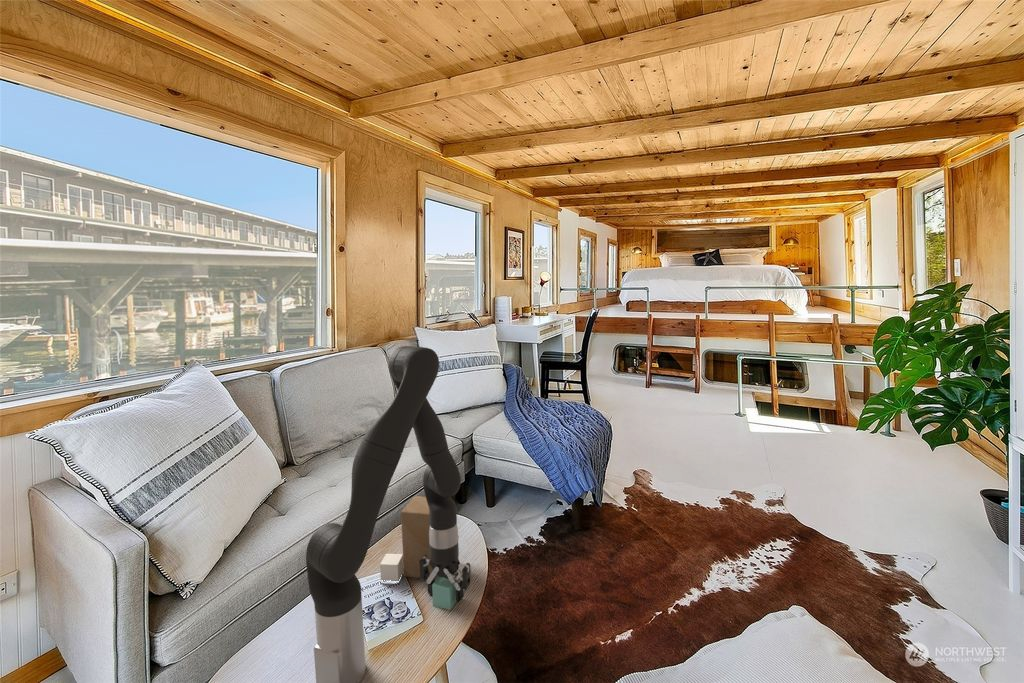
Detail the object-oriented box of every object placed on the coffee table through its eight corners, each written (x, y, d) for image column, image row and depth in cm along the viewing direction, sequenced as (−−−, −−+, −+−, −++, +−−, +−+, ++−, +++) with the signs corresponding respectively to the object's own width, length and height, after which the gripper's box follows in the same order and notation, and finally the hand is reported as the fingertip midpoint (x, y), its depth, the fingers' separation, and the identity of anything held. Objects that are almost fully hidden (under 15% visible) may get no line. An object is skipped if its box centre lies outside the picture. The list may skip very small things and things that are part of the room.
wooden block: (435, 581, 125) (433, 514, 123) (403, 576, 127) (400, 511, 125) (447, 559, 135) (445, 498, 132) (417, 556, 137) (414, 495, 134)
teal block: (450, 610, 114) (449, 588, 113) (432, 606, 115) (432, 584, 115) (458, 597, 118) (457, 576, 118) (441, 593, 120) (441, 573, 119)
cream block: (398, 584, 124) (397, 564, 123) (381, 584, 124) (380, 564, 123) (403, 573, 129) (402, 554, 128) (386, 572, 129) (386, 553, 128)
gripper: (412, 542, 113) (414, 601, 115) (462, 552, 109) (464, 613, 111) (426, 527, 121) (428, 583, 122) (474, 536, 116) (476, 593, 118)
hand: (445, 597), depth 117 cm, fingers open, 7 cm apart
